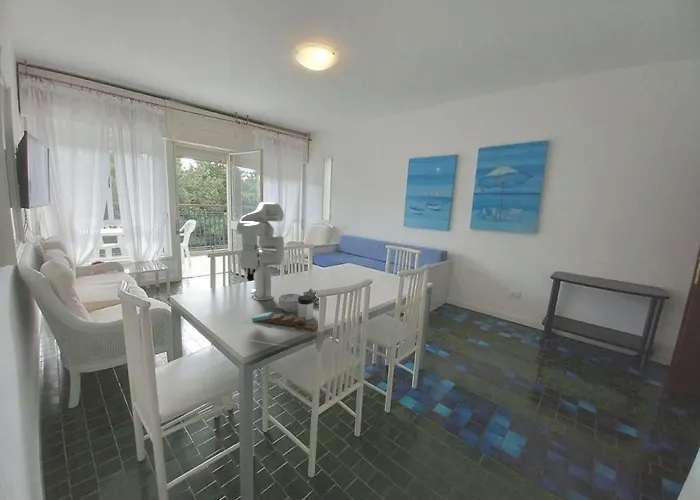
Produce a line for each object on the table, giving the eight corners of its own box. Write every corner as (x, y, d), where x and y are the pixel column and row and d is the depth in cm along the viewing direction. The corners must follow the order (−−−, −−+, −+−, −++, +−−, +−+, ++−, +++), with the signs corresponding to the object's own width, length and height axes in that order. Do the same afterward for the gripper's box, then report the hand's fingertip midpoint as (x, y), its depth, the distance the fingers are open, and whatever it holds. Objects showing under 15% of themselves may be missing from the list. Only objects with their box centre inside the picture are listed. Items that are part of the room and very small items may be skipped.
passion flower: (312, 314, 180) (303, 301, 173) (305, 305, 189) (297, 293, 182) (326, 303, 183) (318, 290, 176) (319, 294, 192) (311, 282, 185)
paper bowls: (290, 303, 182) (290, 291, 180) (309, 308, 175) (310, 296, 173) (273, 310, 168) (273, 297, 167) (293, 316, 161) (294, 303, 160)
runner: (242, 323, 150) (242, 322, 150) (252, 315, 160) (252, 315, 160) (294, 331, 144) (294, 330, 144) (301, 323, 153) (301, 322, 153)
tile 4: (283, 323, 147) (301, 320, 145) (287, 319, 152) (304, 316, 150) (284, 326, 148) (302, 323, 145) (288, 322, 152) (305, 319, 150)
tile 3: (272, 321, 149) (290, 318, 146) (277, 317, 153) (294, 315, 151) (273, 324, 149) (291, 321, 146) (278, 321, 154) (295, 318, 151)
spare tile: (251, 318, 151) (268, 315, 149) (256, 314, 156) (272, 311, 154) (252, 321, 151) (269, 318, 149) (257, 318, 156) (273, 315, 154)
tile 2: (261, 319, 150) (278, 317, 147) (266, 316, 155) (283, 313, 152) (262, 323, 150) (279, 320, 148) (267, 319, 155) (284, 316, 152)
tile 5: (294, 324, 146) (313, 328, 144) (298, 321, 151) (316, 324, 149) (294, 328, 146) (313, 331, 144) (298, 324, 151) (316, 327, 149)
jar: (306, 313, 166) (306, 293, 164) (315, 318, 161) (316, 297, 159) (294, 318, 160) (294, 297, 158) (303, 322, 154) (304, 301, 152)
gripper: (266, 247, 155) (266, 279, 159) (241, 244, 158) (242, 276, 162) (258, 250, 147) (259, 284, 151) (233, 247, 151) (234, 280, 155)
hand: (250, 280), depth 157 cm, fingers closed
